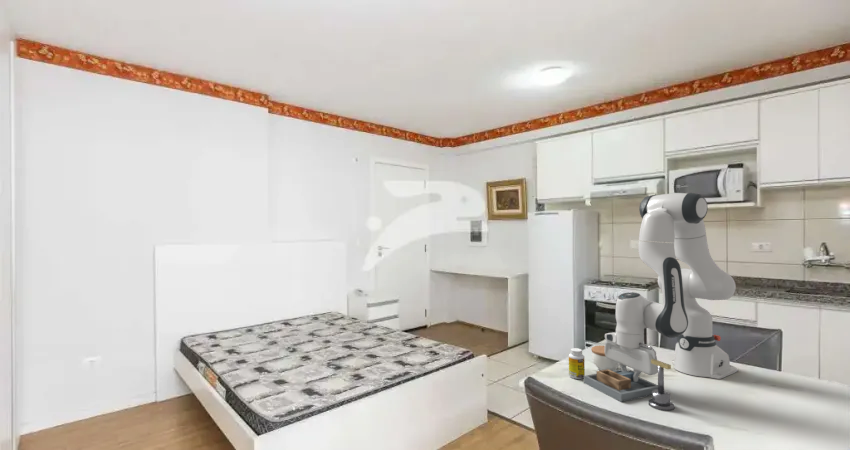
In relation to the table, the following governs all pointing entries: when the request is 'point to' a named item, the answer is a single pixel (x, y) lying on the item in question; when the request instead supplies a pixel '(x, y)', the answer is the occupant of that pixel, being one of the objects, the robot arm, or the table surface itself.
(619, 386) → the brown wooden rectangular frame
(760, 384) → the table surface
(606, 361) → the lidded jar
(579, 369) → the supplement bottle
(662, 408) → the plunger
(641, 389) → the tray
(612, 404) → the table surface
